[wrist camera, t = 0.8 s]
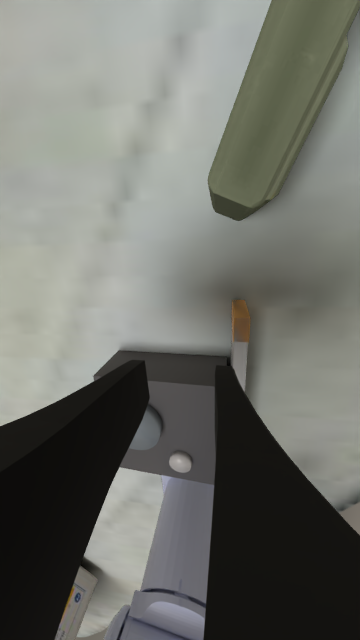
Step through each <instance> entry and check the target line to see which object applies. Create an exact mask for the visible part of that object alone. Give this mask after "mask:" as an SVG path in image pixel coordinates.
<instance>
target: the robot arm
mask: <svg viewBox="0 0 360 640" xmlns="http://www.w3.org/2000/svg"><path fill="white" fill-rule="evenodd" d="M149 399H150V395H149V388H148V380H147V373H146V365H145V360H130V361H128V362H126V363H124V364H123V365H121V366H119V367H117V368H116V369H114V370H112V371H111V372H109V373H107V374H106V375H104V376H102V377H101V378H99V379H97V380H95V381H94V382H92V383H90V384H89V385H87V386H85V387H83V388H81V389H79V390H78V391H76V392H74V393H72V394H70V395H68V396H67V397H65V398H63V399H61V400H59V401H57V402H55V403H53V404H51V405H49V406H47V407H45V408H42V409H40V410H38V411H36V412H34V413H32V414H29V415H27V416H25V417H23V418H20V419H18V420H15V421H13V422H10V423H8V424H5V425H3V426H0V640H55V637H56V634H57V631H58V628H59V625H60V622H61V619H62V616H63V613H64V610H65V607H66V604H67V601H68V599H69V596H70V593H71V590H72V587H73V584H74V581H75V579H76V576H77V573H78V570H79V567H80V564H81V561H82V559H83V556H84V553H85V551H86V548H87V545H88V542H89V540H90V537H91V534H92V532H93V529H94V526H95V524H96V521H97V518H98V516H99V513H100V511H101V508H102V506H103V503H104V501H105V498H106V496H107V493H108V490H109V488H110V486H111V484H112V481H113V479H114V477H115V475H116V473H117V471H118V469H119V467H120V465H121V463H122V460H123V458H124V456H125V454H126V452H127V450H128V448H129V446H130V444H131V442H132V440H133V438H134V436H135V434H136V432H137V430H138V428H139V426H140V424H141V422H142V420H143V417H144V414H145V411H146V408H147V405H148V402H149ZM215 452H216V464H215V480H214V485H211V484H206V483H200V482H195V481H190V480H185V479H179V478H174V477H169V476H164V475H162V483H163V491H164V497H163V501H162V505H161V509H160V513H159V517H158V521H157V525H156V529H155V533H154V537H153V541H152V545H151V549H150V553H149V557H148V561H147V565H146V569H145V573H144V578H143V582H142V586H141V590H140V591H138V590H135V592H134V596H133V599H132V603H131V606H129V605H124V606H123V607H122V608H121V610H120V611H119V612H118V613H117V614H116V615H115V617H114V618H113V619H112V621H111V623H110V625H109V627H108V629H107V632H106V634H105V637H104V639H103V640H360V535H359V534H358V533H357V532H356V531H355V530H354V529H353V528H352V527H351V526H350V525H349V524H348V523H347V522H346V521H345V520H344V519H343V517H342V516H341V515H340V514H339V513H338V512H337V511H336V510H335V509H334V507H333V506H332V505H331V504H330V503H329V502H328V501H327V500H326V499H325V498H324V497H323V495H322V494H321V493H320V492H319V491H318V490H317V489H316V488H315V487H314V486H313V484H312V483H311V482H310V481H309V480H308V479H307V478H306V477H305V476H304V474H303V473H302V472H301V471H300V470H299V468H298V467H297V466H296V465H295V464H294V462H293V461H292V460H291V459H290V457H289V456H288V455H287V454H286V452H285V451H284V450H283V449H282V447H281V446H280V445H279V444H278V442H277V441H276V440H275V438H274V437H273V436H272V434H271V433H270V431H269V430H268V429H267V427H266V426H265V424H264V423H263V421H262V420H261V418H260V417H259V415H258V414H257V412H256V411H255V409H254V408H253V406H252V404H251V403H250V401H249V399H248V397H247V396H246V394H245V392H244V390H243V388H242V387H241V384H240V382H239V380H238V378H237V376H236V373H235V370H234V368H233V367H232V366H221V365H216V369H215Z"/></svg>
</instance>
